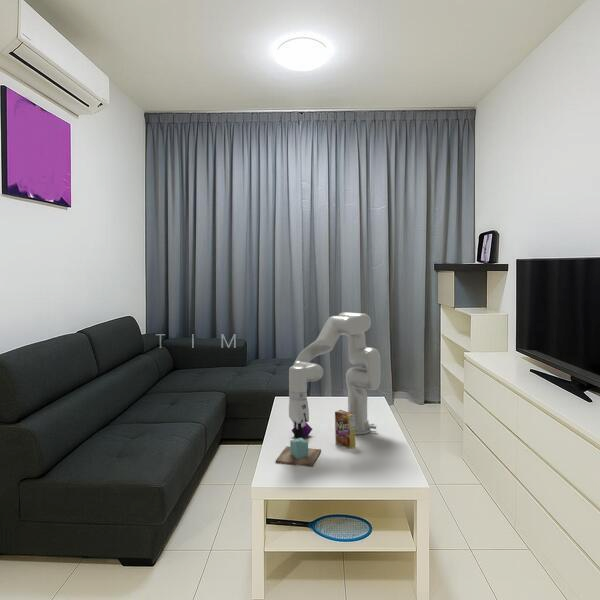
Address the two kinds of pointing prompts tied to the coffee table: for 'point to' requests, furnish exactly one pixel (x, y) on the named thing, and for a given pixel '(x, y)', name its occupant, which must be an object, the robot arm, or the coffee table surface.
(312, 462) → the plate
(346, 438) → the candy box
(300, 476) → the coffee table surface
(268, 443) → the coffee table surface
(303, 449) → the teal cube
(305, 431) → the perfume bottle
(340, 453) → the coffee table surface
